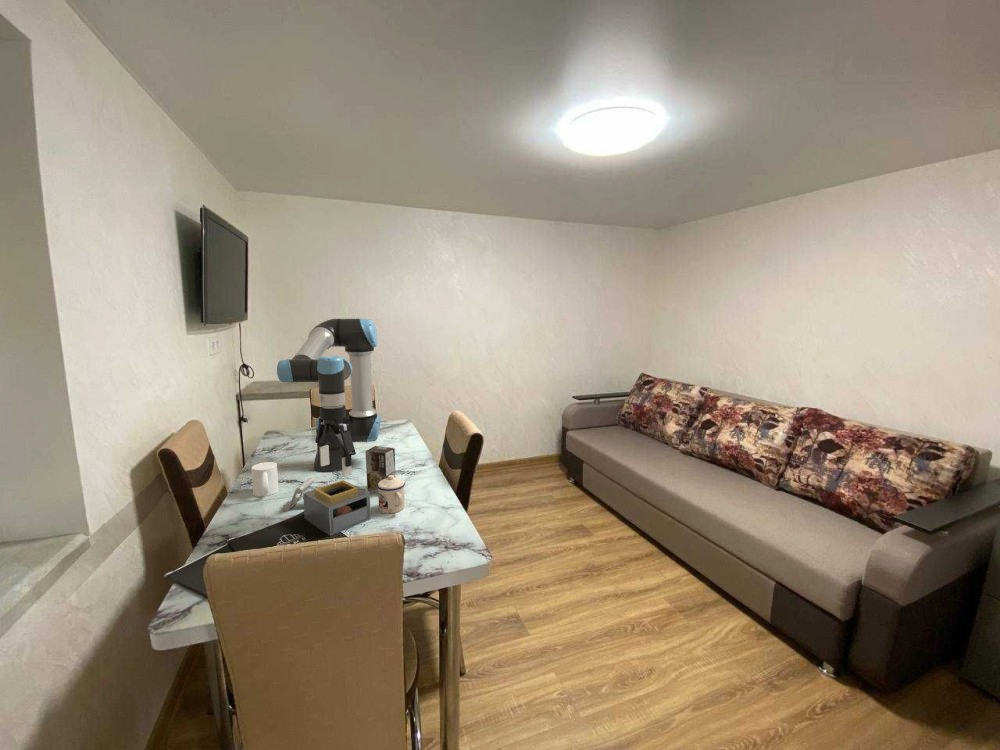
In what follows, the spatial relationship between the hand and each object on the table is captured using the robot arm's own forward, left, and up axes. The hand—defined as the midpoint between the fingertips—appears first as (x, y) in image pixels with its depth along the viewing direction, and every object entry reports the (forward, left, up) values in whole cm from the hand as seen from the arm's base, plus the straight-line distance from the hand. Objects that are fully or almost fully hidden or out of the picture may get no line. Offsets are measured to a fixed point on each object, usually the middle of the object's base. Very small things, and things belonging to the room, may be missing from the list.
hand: (335, 470), depth 132 cm
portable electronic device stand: (-19, -3, -17) cm, 25 cm away
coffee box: (-9, +23, -17) cm, 30 cm away
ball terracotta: (+2, 0, -13) cm, 13 cm away
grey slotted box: (0, 0, -16) cm, 17 cm away
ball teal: (+2, +1, -13) cm, 14 cm away
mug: (-38, -7, -17) cm, 42 cm away
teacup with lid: (+8, +16, -17) cm, 24 cm away
